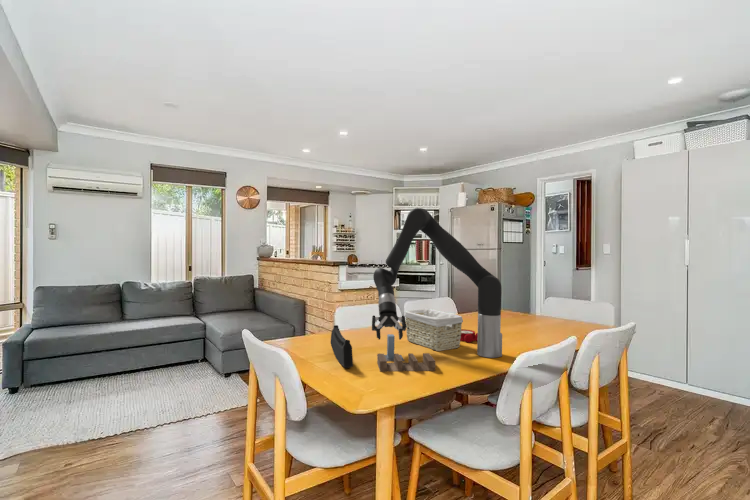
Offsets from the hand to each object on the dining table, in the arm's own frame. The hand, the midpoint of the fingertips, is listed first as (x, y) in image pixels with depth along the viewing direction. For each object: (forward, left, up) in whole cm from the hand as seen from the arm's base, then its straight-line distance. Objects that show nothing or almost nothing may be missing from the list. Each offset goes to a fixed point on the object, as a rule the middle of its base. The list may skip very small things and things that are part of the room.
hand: (390, 338), depth 159 cm
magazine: (+20, +2, -8) cm, 21 cm away
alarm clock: (-42, -29, -8) cm, 52 cm away
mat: (0, +2, -8) cm, 8 cm away
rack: (-4, +14, -8) cm, 17 cm away
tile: (0, +2, -7) cm, 8 cm away
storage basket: (-23, -20, -8) cm, 31 cm away
